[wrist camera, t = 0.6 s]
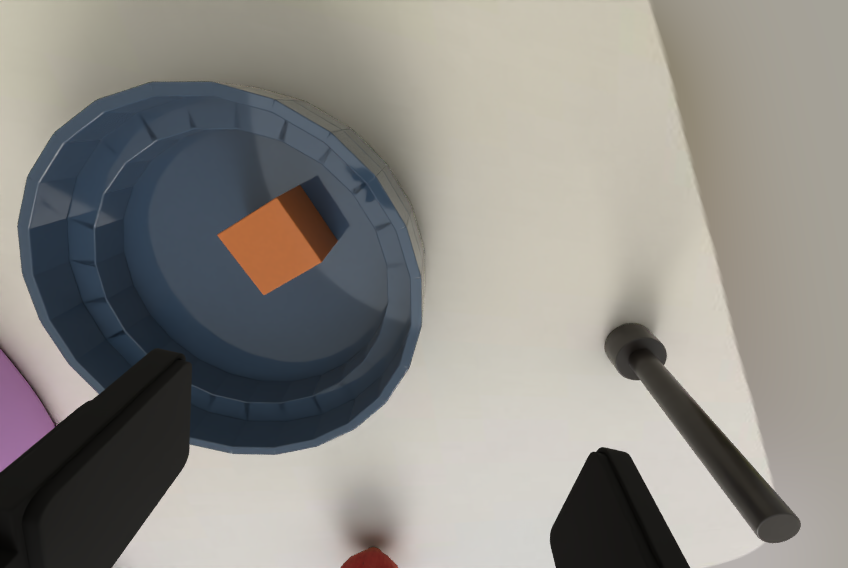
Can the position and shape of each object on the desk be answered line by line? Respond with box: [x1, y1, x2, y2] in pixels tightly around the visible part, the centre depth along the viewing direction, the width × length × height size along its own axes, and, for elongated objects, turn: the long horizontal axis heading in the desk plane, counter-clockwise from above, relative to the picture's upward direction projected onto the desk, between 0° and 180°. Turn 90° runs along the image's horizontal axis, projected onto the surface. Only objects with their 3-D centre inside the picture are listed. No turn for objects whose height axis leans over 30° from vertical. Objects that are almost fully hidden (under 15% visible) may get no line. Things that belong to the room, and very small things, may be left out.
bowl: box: [17, 81, 425, 455], centre depth 25 cm, size 21×21×6 cm
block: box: [217, 185, 338, 295], centre depth 25 cm, size 4×4×4 cm
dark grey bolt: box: [605, 324, 801, 543], centre depth 23 cm, size 3×3×14 cm
